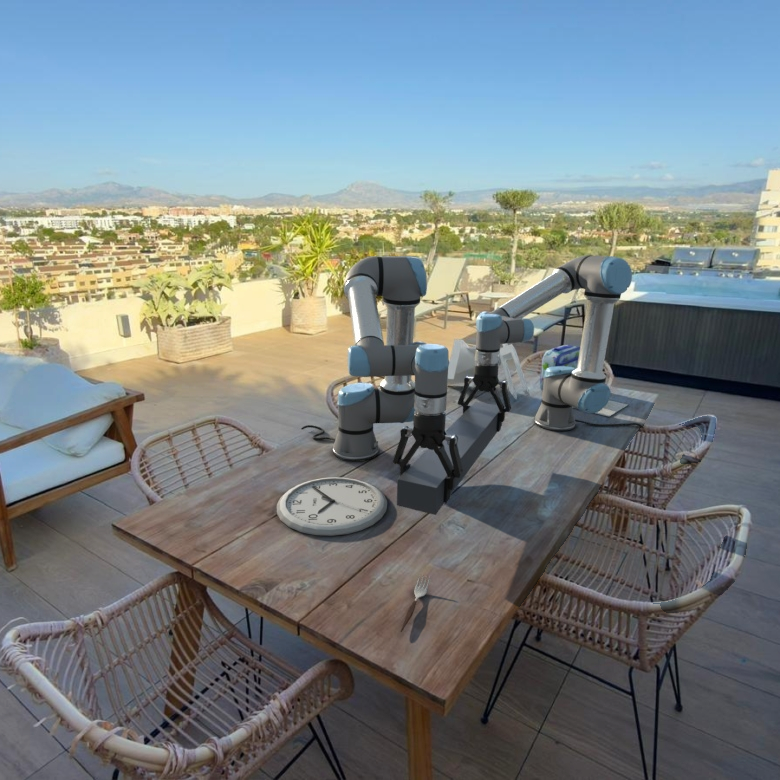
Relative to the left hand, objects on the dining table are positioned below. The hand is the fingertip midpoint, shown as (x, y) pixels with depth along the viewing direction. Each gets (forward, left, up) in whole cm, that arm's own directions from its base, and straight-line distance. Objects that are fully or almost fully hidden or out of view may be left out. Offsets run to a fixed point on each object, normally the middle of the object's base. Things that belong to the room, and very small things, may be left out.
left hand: (426, 495), depth 129 cm
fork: (+25, -15, -10) cm, 30 cm away
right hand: (-34, +38, 0) cm, 52 cm away
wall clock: (-20, -18, -10) cm, 29 cm away
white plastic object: (-94, +76, -10) cm, 121 cm away
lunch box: (-84, +115, -10) cm, 143 cm away
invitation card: (-58, +115, -10) cm, 129 cm away
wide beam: (-17, +19, -1) cm, 26 cm away
